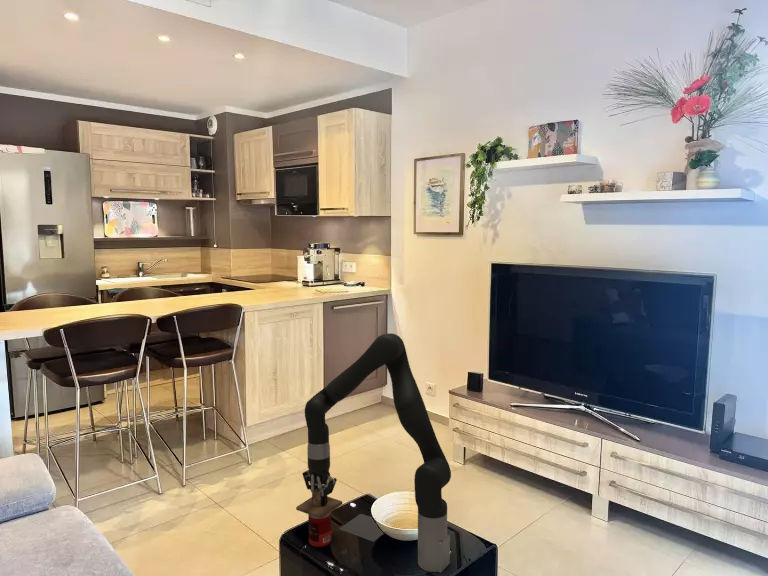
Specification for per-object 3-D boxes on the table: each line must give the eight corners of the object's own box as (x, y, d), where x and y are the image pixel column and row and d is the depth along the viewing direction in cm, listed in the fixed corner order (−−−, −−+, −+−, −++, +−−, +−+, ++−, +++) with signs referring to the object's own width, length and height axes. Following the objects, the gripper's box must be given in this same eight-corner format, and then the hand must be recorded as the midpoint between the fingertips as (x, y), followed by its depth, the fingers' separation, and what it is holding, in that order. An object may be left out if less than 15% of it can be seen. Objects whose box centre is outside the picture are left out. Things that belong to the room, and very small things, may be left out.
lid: (342, 504, 182) (341, 487, 182) (321, 518, 173) (320, 501, 173) (317, 495, 189) (317, 479, 188) (296, 509, 180) (295, 492, 179)
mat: (394, 526, 192) (394, 525, 192) (373, 542, 181) (373, 541, 181) (360, 514, 200) (360, 513, 200) (339, 530, 190) (339, 528, 190)
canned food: (333, 536, 186) (333, 505, 185) (329, 549, 178) (328, 517, 177) (312, 535, 187) (311, 504, 186) (306, 548, 179) (305, 516, 178)
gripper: (342, 455, 179) (342, 504, 180) (310, 446, 187) (311, 494, 188) (327, 462, 173) (328, 514, 174) (295, 453, 181) (296, 502, 182)
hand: (319, 503), depth 181 cm, fingers closed on lid, 3 cm apart
